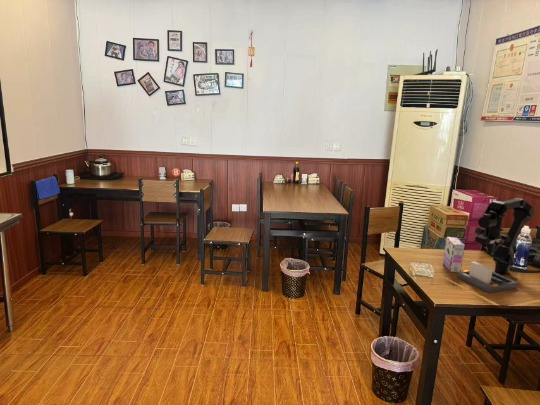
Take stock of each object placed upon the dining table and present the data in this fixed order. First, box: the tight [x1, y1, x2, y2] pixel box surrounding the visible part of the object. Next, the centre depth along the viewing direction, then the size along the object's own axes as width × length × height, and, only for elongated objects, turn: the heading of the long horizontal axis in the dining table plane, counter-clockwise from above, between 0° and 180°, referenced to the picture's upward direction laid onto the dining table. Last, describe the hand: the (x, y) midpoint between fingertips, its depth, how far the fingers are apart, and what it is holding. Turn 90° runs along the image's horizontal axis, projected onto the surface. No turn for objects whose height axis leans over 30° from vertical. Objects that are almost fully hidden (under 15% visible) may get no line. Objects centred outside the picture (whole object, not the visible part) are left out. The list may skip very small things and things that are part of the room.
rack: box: [457, 269, 519, 294], centre depth 182 cm, size 19×18×5 cm
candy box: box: [442, 236, 466, 273], centre depth 199 cm, size 14×6×16 cm, turn 168°
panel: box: [469, 261, 494, 285], centre depth 179 cm, size 2×10×10 cm, turn 20°
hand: (489, 254), depth 187 cm, fingers closed
